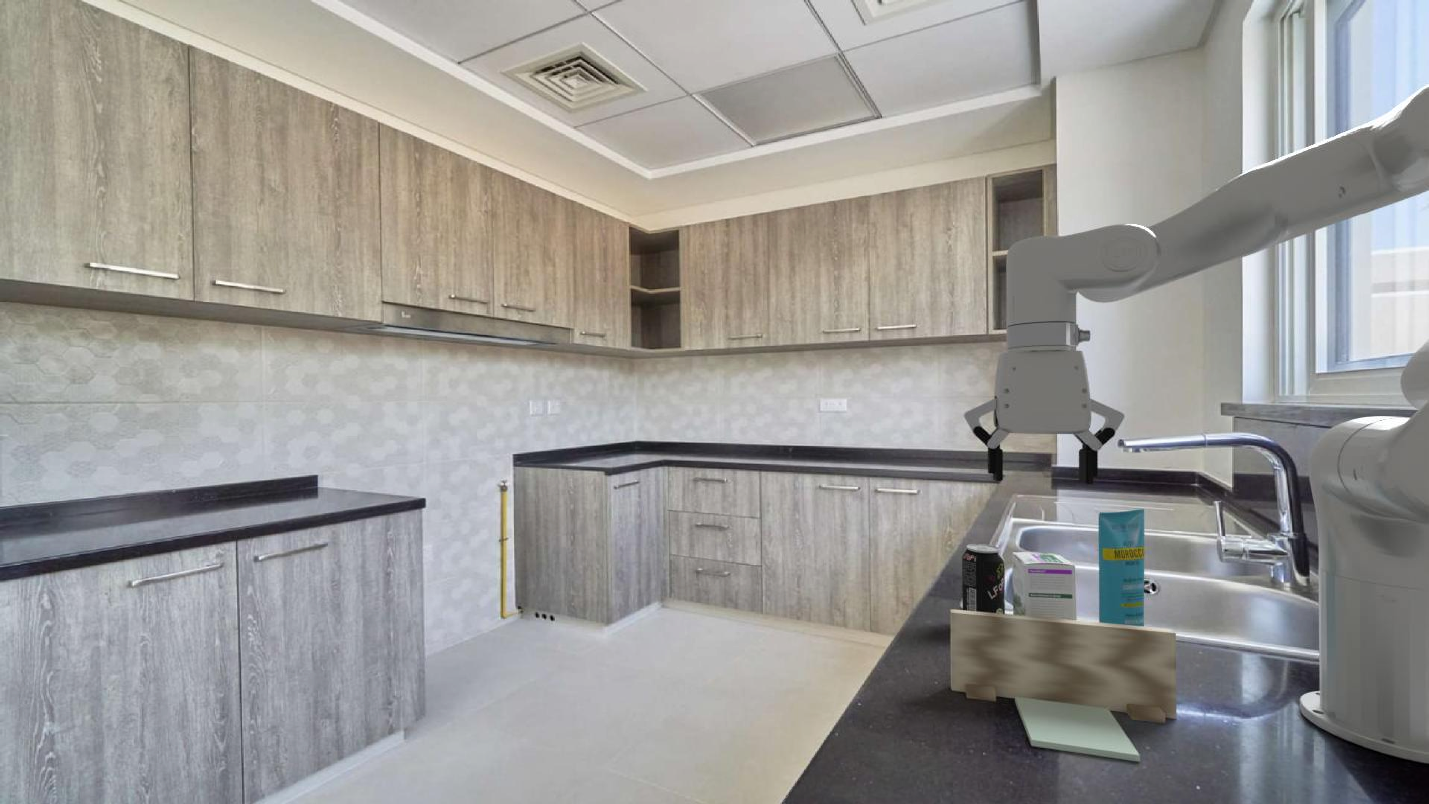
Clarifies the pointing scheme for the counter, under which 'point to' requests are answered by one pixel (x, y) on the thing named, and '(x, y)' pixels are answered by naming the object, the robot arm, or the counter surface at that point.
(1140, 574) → the tube
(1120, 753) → the green pad
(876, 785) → the counter surface
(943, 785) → the counter surface
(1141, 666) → the birch board
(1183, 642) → the counter surface
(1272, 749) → the counter surface
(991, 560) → the beverage can
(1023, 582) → the syrup box
